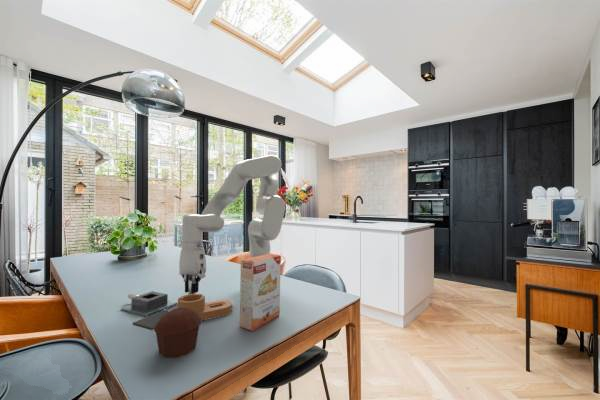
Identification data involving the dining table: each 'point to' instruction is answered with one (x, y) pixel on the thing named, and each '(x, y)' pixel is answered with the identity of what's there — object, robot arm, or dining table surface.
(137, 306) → the chuck block
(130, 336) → the dining table surface
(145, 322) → the rubber mat
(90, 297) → the dining table surface
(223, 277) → the dining table surface
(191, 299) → the bracket
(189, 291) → the small bottle
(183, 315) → the muffin
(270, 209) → the robot arm
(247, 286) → the cracker box
